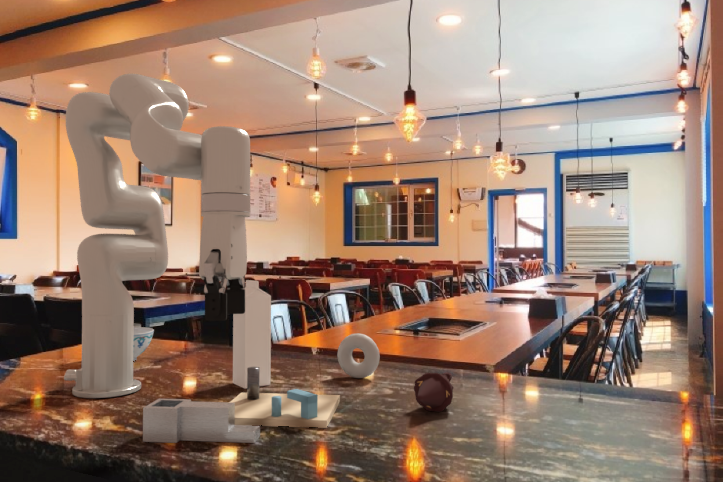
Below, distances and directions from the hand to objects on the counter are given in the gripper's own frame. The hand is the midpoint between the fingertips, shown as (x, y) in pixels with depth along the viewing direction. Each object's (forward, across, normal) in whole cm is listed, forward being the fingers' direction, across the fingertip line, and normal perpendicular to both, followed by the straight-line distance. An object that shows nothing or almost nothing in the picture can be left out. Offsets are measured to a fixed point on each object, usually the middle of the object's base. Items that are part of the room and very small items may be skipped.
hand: (226, 316), depth 88 cm
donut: (+18, -40, +18) cm, 47 cm away
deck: (+18, -12, +6) cm, 22 cm away
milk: (+18, -32, -4) cm, 37 cm away
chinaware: (+17, -54, -44) cm, 72 cm away
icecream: (+18, -16, +33) cm, 41 cm away
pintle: (+17, -16, 0) cm, 23 cm away
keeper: (+18, -6, +9) cm, 21 cm away
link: (+18, +2, -3) cm, 18 cm away
